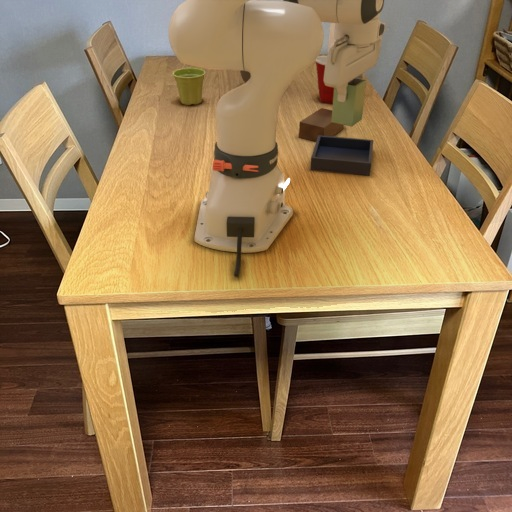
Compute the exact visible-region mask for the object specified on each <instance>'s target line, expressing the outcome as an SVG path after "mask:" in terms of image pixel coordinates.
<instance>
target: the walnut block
mask: <svg viewBox="0 0 512 512" xmlns="http://www.w3.org/2000/svg"><path fill="white" fill-rule="evenodd" d="M331 119H332V109H327V108H323V107H320V108H318V109H317V110H316V111H314V112H313V113H311V114H310V115H308V116H306V117H305V118H303V119H301V120H300V121H299V126H298V138H299V139H304V140H308V141H312V142H314V143H316V141H317V138H318V135H322V136H334V137H335V135H337V134H339V132H341V131H342V130H343V129H344V127H345V125H342V124H338V123H333V122H331Z"/></svg>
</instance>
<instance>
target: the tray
mask: <svg viewBox="0 0 512 512" xmlns="http://www.w3.org/2000/svg"><path fill="white" fill-rule="evenodd" d="M373 149H374V139H366V138H355V137H346V136H345V137H344V136H335V135H334V136H322V135H318V138H317V141H316V142H315V144H314V148H313V151H312V154H311V157H310V169H309V170H310V171H316V172H325V173H334V174H335V173H337V174H345V175H355V176H356V175H357V176H366V177H370V175H371V168H372V160H373Z"/></svg>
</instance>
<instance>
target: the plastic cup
mask: <svg viewBox="0 0 512 512" xmlns="http://www.w3.org/2000/svg"><path fill="white" fill-rule="evenodd" d="M326 58H327V55H319V56H318V57H317V59H316V60H315V67H316V74H317V77H316V78H317V90H318V98H319V101H320V102H321V103H326V104H333V96H334V88H333V87H329V86H326V85H325V84H324V71H325V64H326Z"/></svg>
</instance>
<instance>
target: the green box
mask: <svg viewBox="0 0 512 512" xmlns="http://www.w3.org/2000/svg"><path fill="white" fill-rule="evenodd" d="M366 87H367V79H363V80H362V79H357V78H354V79H353V80H351V81H350V82H348V86H347V87H346V90H347V93H348V99H347V100H346V101H345V102H340V101H338V100H337V98H338V92H337V89H336V88H334V96H333V103H332V109H331V110H332V119H331V122H333V123H338V124H342V125H344V126H347V127H350V128H353V127H354V126H355V125H357V124H359V122H361V121H362V120H363V112H364V104H365V96H366Z"/></svg>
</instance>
